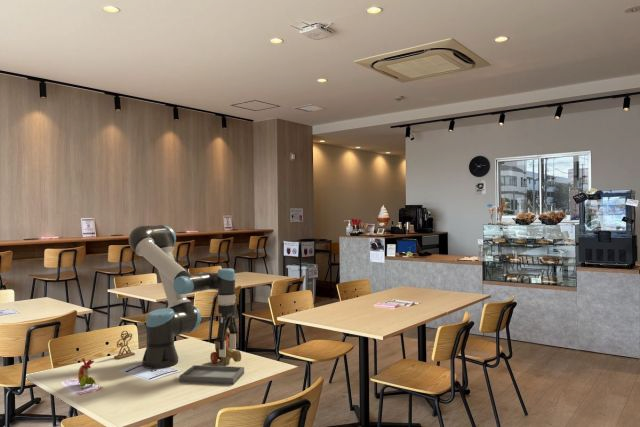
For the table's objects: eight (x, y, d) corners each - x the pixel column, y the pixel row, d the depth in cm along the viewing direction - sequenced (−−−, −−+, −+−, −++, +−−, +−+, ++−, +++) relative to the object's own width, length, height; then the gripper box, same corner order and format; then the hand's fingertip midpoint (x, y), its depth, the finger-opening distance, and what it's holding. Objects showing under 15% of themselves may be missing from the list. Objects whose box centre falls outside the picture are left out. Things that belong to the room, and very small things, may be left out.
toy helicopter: (225, 358, 223) (225, 328, 224) (248, 369, 207) (248, 336, 207) (208, 361, 218) (208, 331, 218) (231, 372, 202) (231, 339, 202)
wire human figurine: (118, 359, 222) (118, 333, 222) (113, 358, 224) (113, 332, 224) (135, 354, 230) (135, 329, 230) (129, 353, 232) (129, 328, 232)
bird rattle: (72, 392, 186) (82, 387, 181) (67, 363, 189) (77, 357, 184) (89, 388, 191) (99, 383, 186) (84, 360, 194) (93, 354, 189)
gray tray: (179, 382, 191) (179, 375, 191) (193, 371, 205) (193, 365, 205) (233, 384, 188) (233, 378, 188) (244, 373, 202) (244, 367, 202)
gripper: (225, 309, 201) (226, 360, 200) (243, 299, 226) (244, 345, 225) (208, 309, 202) (209, 360, 202) (227, 299, 227) (228, 345, 226)
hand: (227, 352), depth 213 cm, fingers open, 13 cm apart
